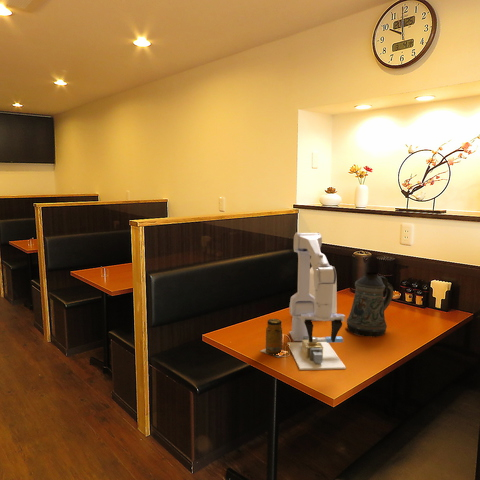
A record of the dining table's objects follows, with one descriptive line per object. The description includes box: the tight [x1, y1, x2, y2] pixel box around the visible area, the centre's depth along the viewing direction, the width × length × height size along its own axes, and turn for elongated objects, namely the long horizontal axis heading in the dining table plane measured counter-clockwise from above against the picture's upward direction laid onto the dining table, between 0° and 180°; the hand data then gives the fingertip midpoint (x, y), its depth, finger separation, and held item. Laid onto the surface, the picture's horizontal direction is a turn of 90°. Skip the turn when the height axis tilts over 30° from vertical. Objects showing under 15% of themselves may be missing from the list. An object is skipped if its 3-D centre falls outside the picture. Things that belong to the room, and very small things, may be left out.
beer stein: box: [346, 272, 394, 338], centre depth 176 cm, size 16×19×25 cm
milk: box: [309, 266, 338, 314], centre depth 197 cm, size 12×12×26 cm
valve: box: [301, 336, 323, 365], centre depth 150 cm, size 17×6×5 cm, turn 5°
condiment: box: [260, 318, 283, 358], centre depth 153 cm, size 7×8×12 cm
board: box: [287, 341, 347, 371], centre depth 151 cm, size 22×16×1 cm
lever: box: [308, 335, 344, 344], centre depth 150 cm, size 13×3×1 cm, turn 95°
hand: (321, 341), depth 139 cm, fingers open, 7 cm apart
